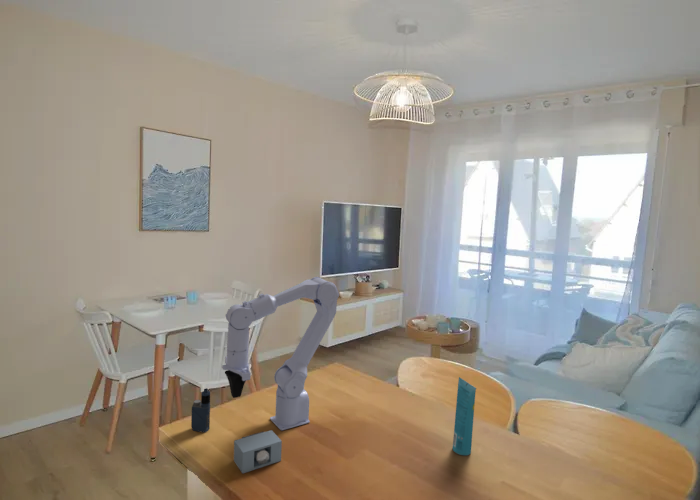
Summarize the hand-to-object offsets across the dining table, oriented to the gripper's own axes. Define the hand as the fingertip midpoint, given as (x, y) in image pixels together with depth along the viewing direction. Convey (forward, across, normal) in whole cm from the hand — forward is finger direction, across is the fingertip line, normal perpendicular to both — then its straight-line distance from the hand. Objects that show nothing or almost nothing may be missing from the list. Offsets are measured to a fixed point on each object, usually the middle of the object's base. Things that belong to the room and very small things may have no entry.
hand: (236, 396), depth 114 cm
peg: (+10, +16, 0) cm, 18 cm away
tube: (+10, +39, +49) cm, 64 cm away
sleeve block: (+10, +16, 0) cm, 19 cm away
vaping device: (+11, -6, -8) cm, 15 cm away
